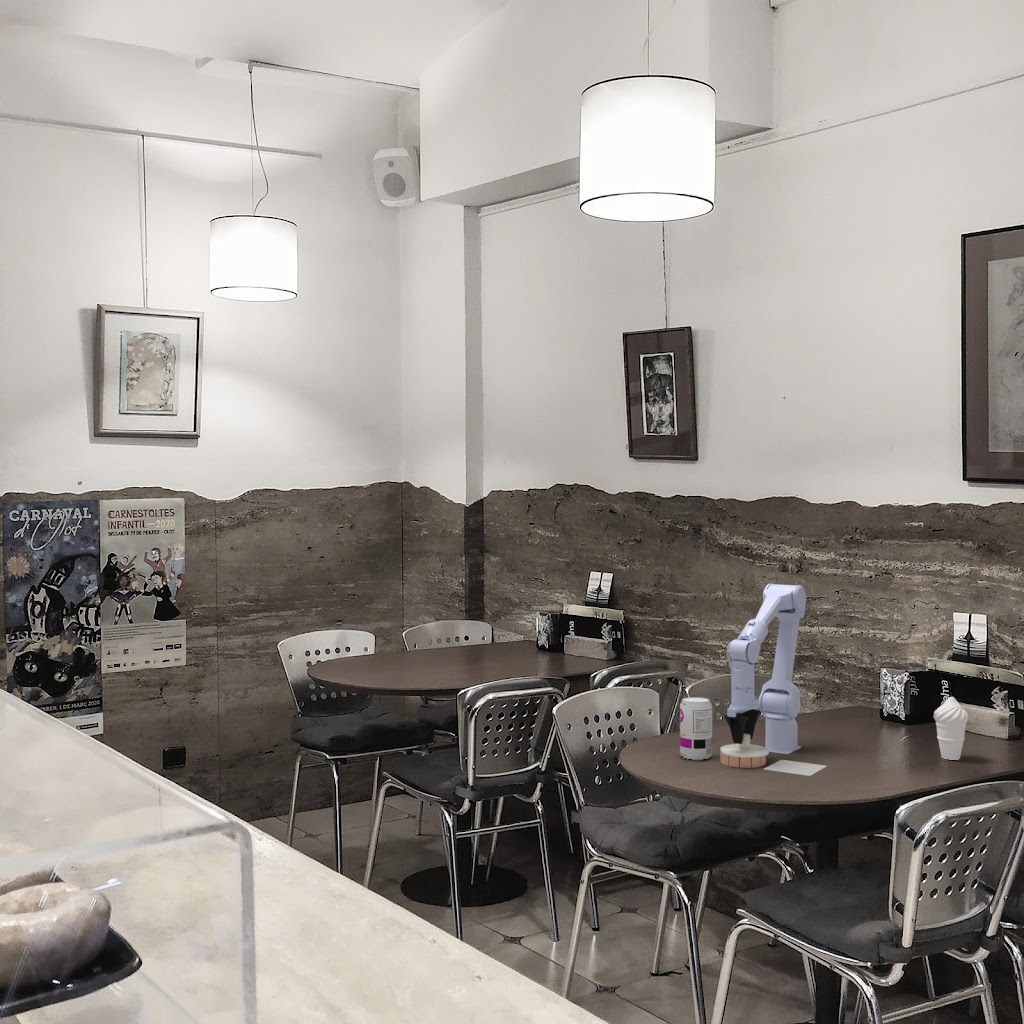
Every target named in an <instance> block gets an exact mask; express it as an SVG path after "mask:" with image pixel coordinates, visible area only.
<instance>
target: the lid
mask: <svg viewBox="0 0 1024 1024" xmlns="http://www.w3.org/2000/svg"><path fill="white" fill-rule="evenodd" d="M719 750H720V752H721V753H722V754H725V755H728V756H733V757H742V758H755V757H763V756H766V757H767V756H768V755H769V754H770V752H769V749H768V748H766V746H763V745H758V744H752V743H751V739H750V734H744V736H743V742H742V744H738V743H731V744H725V745H722V746H721V747H720V749H719Z"/></svg>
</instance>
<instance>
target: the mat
mask: <svg viewBox="0 0 1024 1024" xmlns="http://www.w3.org/2000/svg"><path fill="white" fill-rule="evenodd" d="M827 767H828V765H823V764H817V763H810V762H802V761H793V760H787V759H786V760H785V759H780V760H778V761H776V762H774V763H772V764H770V765H768V766H766V767H764V768H763V770H765V771H772V772H778V773H786V774H793V775H799V776H808V777H811V776H813V775H814V774H816V773H818V772H820V771H821V770H823V769H825V768H827Z"/></svg>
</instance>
